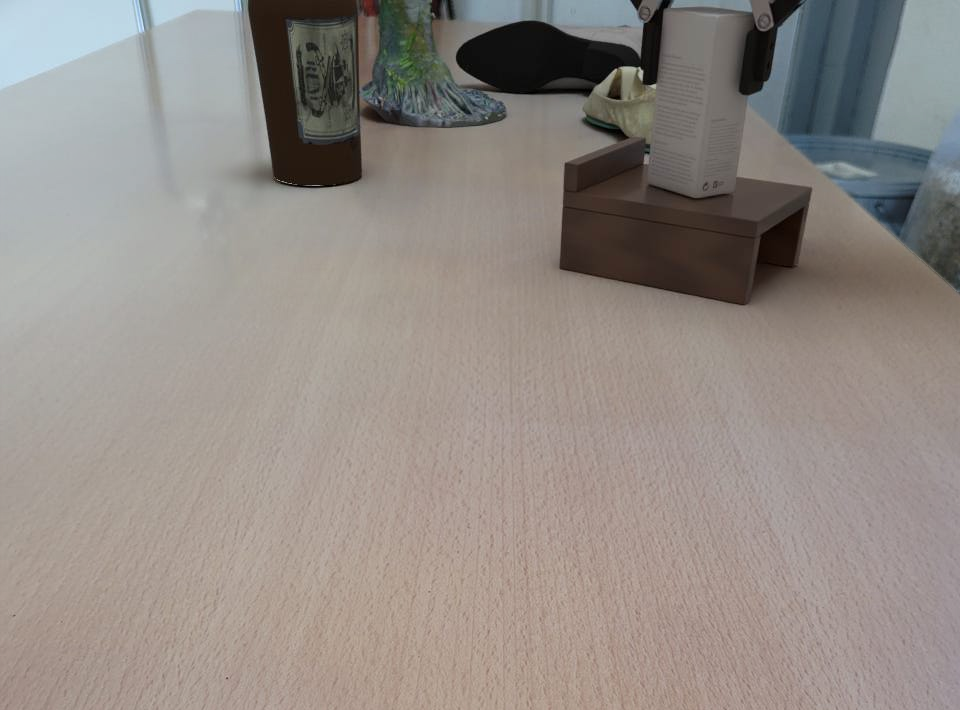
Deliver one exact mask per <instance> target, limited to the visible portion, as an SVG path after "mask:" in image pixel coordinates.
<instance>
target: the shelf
mask: <svg viewBox="0 0 960 710" xmlns="http://www.w3.org/2000/svg"><path fill="white" fill-rule="evenodd" d="M645 145H646V138H642V137H635V136H634V137H631V138H629V137H628V138H626V139H623V140H621V141H618V142H615V143H613V144H610V145H608V146H605V147H603V148H600V149H596V150H595V151H591V152H589V153H587V154H584V155H582V156H579V157H577V158H574V159H571V160H568V161H566V162H564V166H563V167H564V169H563V184H562V185H563V187H562V188H563V189H562V190H563V191H562V210H561V211H562V212H561V229H560V249H559V269H562V270H568V271H573V272H578V273H583V274H587V275H588V274H589V275H593V276H598V277H601V278H608V279H613V280H618V281H622V282H627V283H633V284H638V285H642V286H648V287H653V288H658V289H662V290H667V291H668V290H669V291H674V292H677V293H683V294H688V295H693V296H698V297H702V298H703V297H704V298H709V299H714V300H717V301H722V302H729V303H734V304H739V305H746V304H748V302H750V301H751V297H752V290H753V285H754V279H755V274H756V273H755V272H756V267H757V262H758V263H759V262H760V263H765V264H769V263H772V264H771V265H775V264H777V265H776V266H781V265H784V266H783V267H786V266H790V267H789V268H792V267H793V268H795V267H796V266H797V265H798V264H799V261H800V255H801V249H802V244H803V239H804V234H805V229H806V225H807V224H806V223H807V218H808V214H809V209H810V208H809V207H810V202H811V198H812V192H813V187H812V186H807V185H806V186H805V185H797V184H791V183H784V182H778V181H770V180H762V179H756V178H748V177H743V176H741V177H740V176H737V177H736V185H735V190H734V192H732V193H726V194H719V195H714V196H708V197H703V198H692V197H689V196H686V195H682V194H679V193H676V192H673V191H669V190H666V189H663V188H660V187H656V186H653V185H650V184H648V183H647V175H648V164H649V163H645V156H646V155H645V154H646V151H645ZM796 264H797V265H796ZM795 265H796V266H795ZM791 266H792V267H791ZM794 266H795V267H794Z"/></svg>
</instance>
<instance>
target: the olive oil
mask: <svg viewBox="0 0 960 710" xmlns="http://www.w3.org/2000/svg"><path fill="white" fill-rule="evenodd" d="M247 13H248V14H247V15H248V20H249V26H250V33H251V38H252V43H253V50H254V56H255V62H256V68H257V74H258V81H259V85H260V86H259V87H260V94H261V100H262V106H263V112H264V119H265V125H266V132H267V139H268V146H269V153H270V161H271V167H272V174H273V178H274V177H275V178H276V179H278V180H280V181H284V182H287V183H292V184H297V185H332V186H335V185H334V184H339V185H344V184H348V183H349V184H350V183H352V182H354V181H357V180H358V179H360V178H361V177H362V175H363V162H362V160H363V159H362V136H361V106H360V105H361V103H360V102H361V100H360V98H361V96H360V95H359V94H360V93H359V91H360V58H359V57H360V54H359V53H360V52H359V51H360V50H359V49H360V48H359V47H360V46H359V44H360V43H359V7H358V1H357V0H247ZM275 178H274V179H275ZM276 179H275V180H276ZM343 183H344V184H343Z"/></svg>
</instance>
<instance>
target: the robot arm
mask: <svg viewBox="0 0 960 710" xmlns="http://www.w3.org/2000/svg"><path fill="white" fill-rule="evenodd" d="M629 1H630V3H631V4H632V6H633V7H634V9H635V10H636V13H637V19H638V20H639V22H640V23H643V24H642V26H643V34H642V46H641V57H640V68H641V70H643V79H642V82H643V85H654V84H656V83H657V73H658V63H659V53H660V42H661V31H662V20H663V11H664V9H666V8H672V6H673V4H674V2H675V0H629ZM748 1H749V4H750V7H751V12H753V16H754V19H755V22H754V29H753V30H751V31H749V32H748V33H747V36H746V42H745V49H744V56H743V64H742V71H741V78H740V85H739V93H741V95H748V97H749V96H751V95H754V94H756V93H759V92H761V91H762V90H763V89H764V85H765V83H766V82H768V81H769V80H770V77H771V74H772V69H773V63H774V56H775V50H776V44H777V38H778V31H779V30H778V29H779V28H781V27H782V26H783V25H784V24H785V23H786V22H787V20H788V19H790V17H791V16H792V15H793V14H795V12H797V10H798V9H799V8H800V7H802V5H804V4H805V2H806V1H807V0H748Z"/></svg>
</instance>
